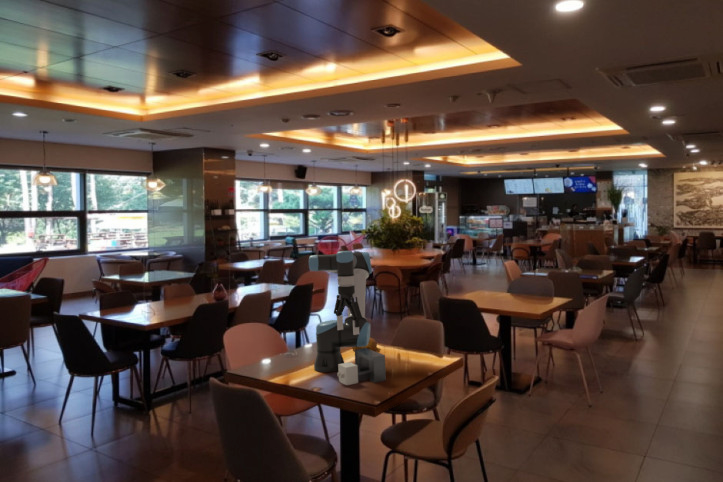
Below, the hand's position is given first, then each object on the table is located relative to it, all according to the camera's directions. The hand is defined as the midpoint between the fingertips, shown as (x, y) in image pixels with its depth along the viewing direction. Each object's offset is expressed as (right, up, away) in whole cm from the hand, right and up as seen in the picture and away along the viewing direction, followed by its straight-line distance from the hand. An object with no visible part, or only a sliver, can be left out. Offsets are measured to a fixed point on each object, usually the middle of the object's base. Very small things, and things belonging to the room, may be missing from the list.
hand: (348, 332), depth 244 cm
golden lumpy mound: (+8, -20, +60) cm, 63 cm away
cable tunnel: (+10, -22, +7) cm, 25 cm away
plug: (+6, -22, +4) cm, 24 cm away
